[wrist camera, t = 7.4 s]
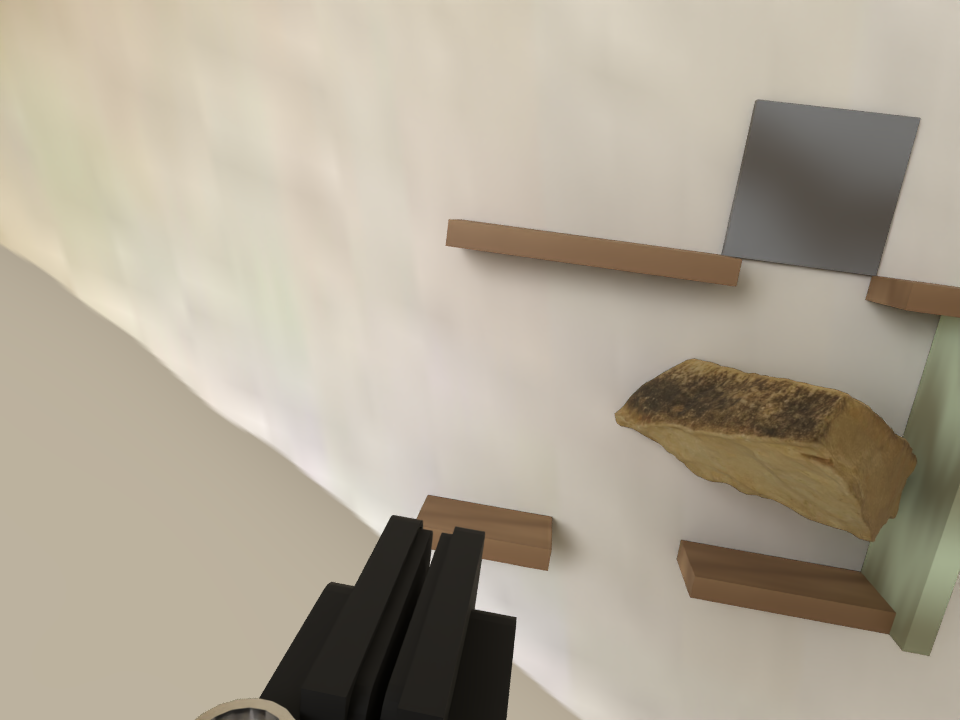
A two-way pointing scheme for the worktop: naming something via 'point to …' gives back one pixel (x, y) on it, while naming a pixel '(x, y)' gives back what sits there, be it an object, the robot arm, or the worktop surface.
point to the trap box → (858, 249)
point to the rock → (778, 442)
